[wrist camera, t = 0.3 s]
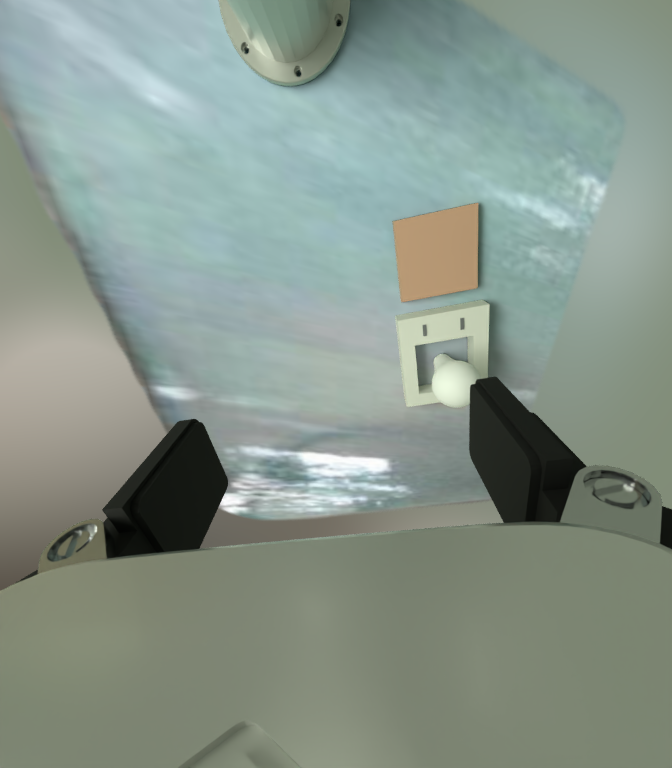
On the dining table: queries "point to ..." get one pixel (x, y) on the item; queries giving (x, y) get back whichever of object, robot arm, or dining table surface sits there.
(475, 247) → the tile
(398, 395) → the dining table surface
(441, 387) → the lightbulb
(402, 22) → the dining table surface
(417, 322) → the slotted square frame
